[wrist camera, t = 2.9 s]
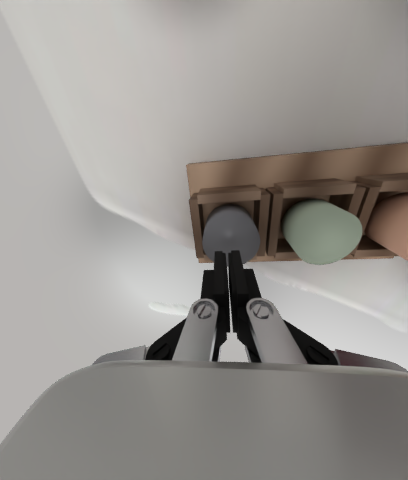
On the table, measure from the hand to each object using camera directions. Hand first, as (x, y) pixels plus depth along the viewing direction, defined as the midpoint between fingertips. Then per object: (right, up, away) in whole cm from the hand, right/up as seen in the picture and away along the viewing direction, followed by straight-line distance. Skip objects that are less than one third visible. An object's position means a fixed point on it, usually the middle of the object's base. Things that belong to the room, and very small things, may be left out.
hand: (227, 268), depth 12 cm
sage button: (+8, +4, +5) cm, 10 cm away
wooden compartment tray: (+9, +6, +8) cm, 13 cm away
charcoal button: (+1, +3, +6) cm, 7 cm away
